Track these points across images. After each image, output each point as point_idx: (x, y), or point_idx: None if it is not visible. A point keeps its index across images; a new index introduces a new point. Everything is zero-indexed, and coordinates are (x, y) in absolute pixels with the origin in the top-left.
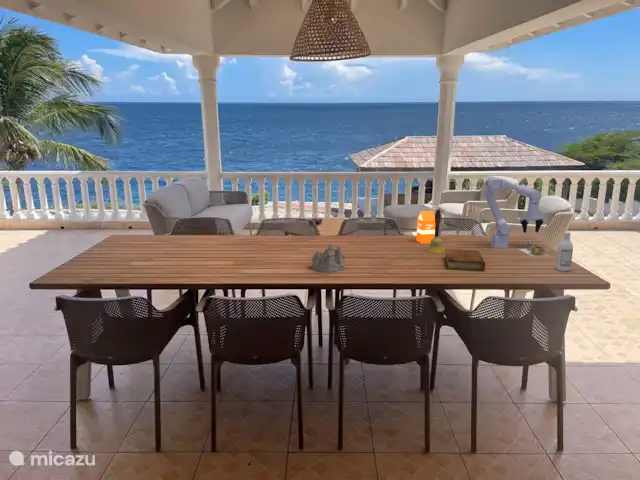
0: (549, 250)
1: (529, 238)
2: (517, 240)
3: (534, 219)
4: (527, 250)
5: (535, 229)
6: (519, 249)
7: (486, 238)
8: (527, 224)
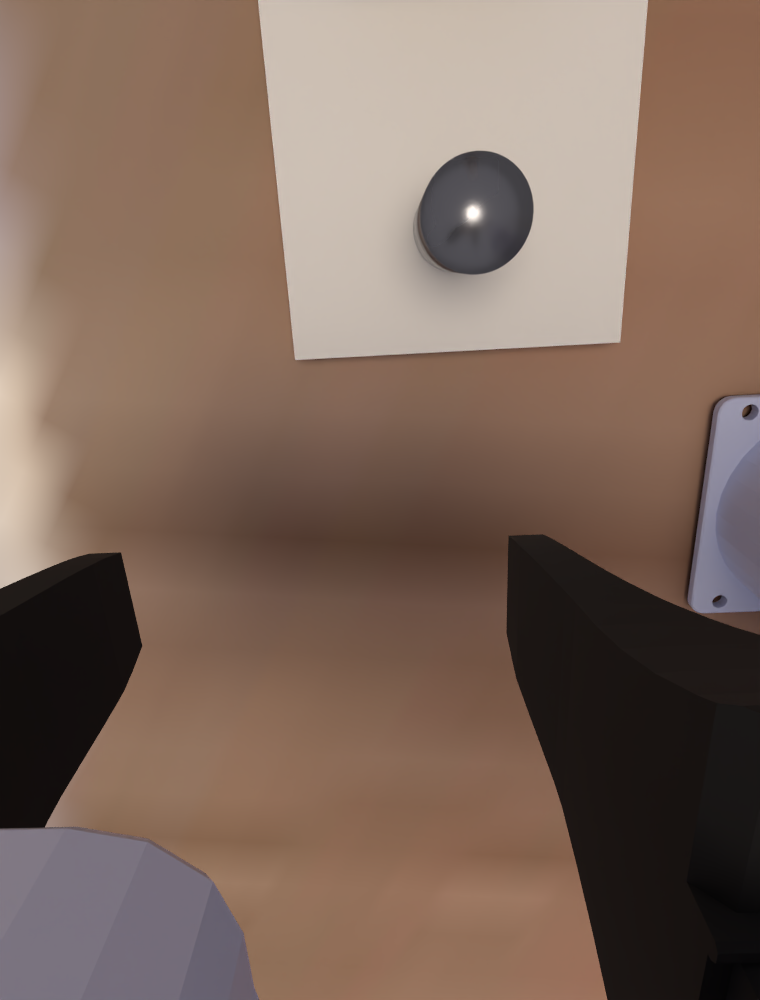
0: (17, 321)
1: None
2: (303, 886)
3: (114, 852)
4: None
5: (112, 694)
6: (616, 302)
7: None
8: (638, 662)
